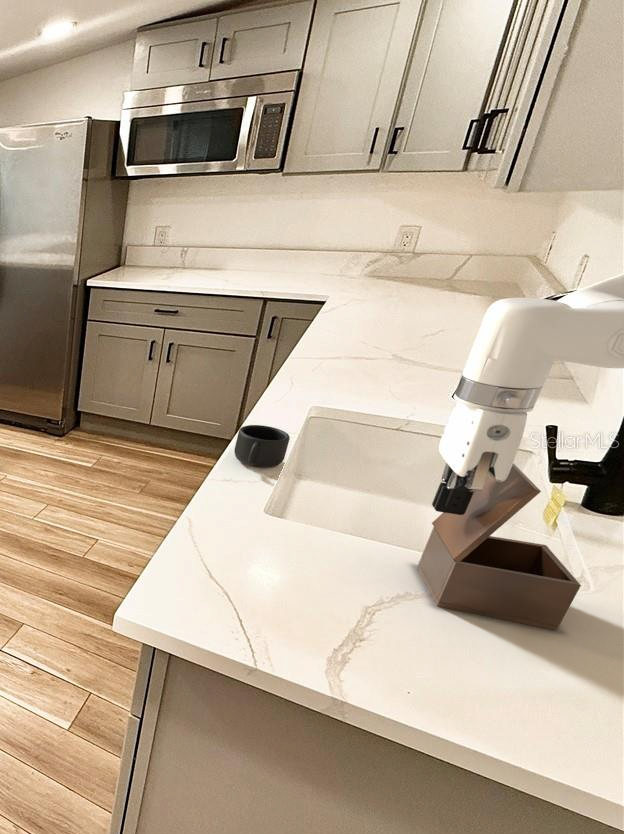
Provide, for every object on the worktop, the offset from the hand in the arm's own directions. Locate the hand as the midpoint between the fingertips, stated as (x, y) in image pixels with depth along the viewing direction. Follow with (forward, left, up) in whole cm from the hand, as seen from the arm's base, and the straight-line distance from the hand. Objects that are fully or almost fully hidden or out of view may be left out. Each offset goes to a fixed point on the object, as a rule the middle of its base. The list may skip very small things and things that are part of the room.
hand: (447, 510), depth 89 cm
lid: (-4, 0, +1) cm, 4 cm away
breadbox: (-7, 0, -13) cm, 15 cm away
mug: (+19, -37, -13) cm, 44 cm away
